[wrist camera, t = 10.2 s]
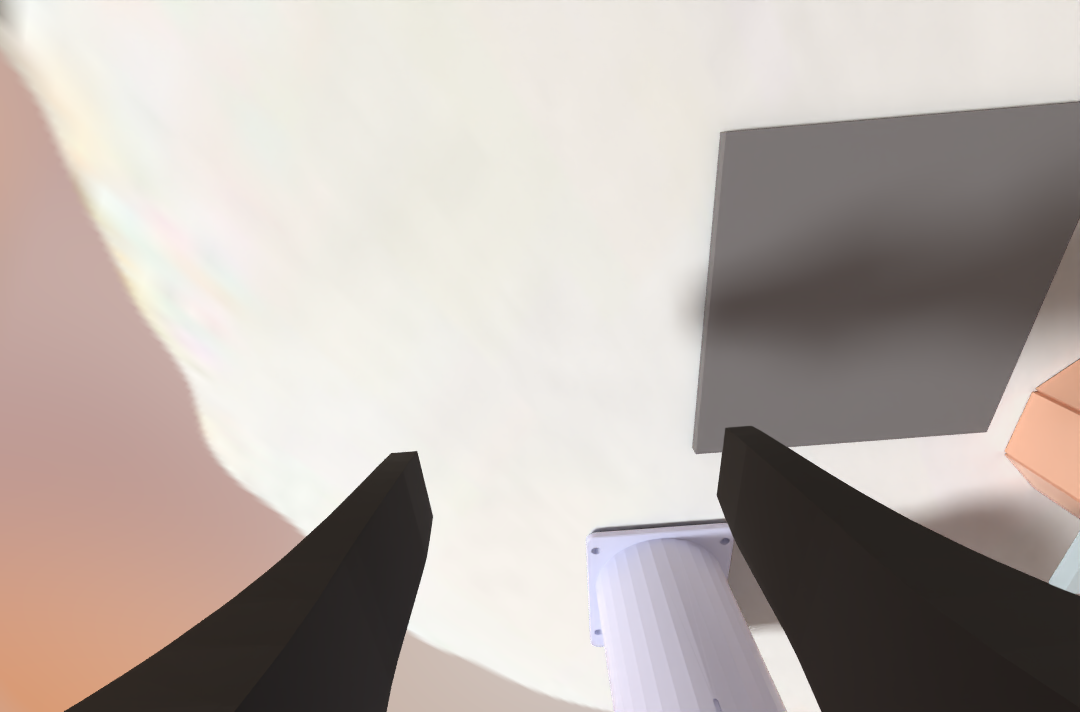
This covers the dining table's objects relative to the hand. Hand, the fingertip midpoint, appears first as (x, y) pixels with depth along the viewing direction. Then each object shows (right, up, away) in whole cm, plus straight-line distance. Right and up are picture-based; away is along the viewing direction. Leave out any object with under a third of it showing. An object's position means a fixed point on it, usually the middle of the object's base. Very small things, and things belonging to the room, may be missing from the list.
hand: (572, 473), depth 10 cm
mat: (+13, +5, +8) cm, 16 cm away
